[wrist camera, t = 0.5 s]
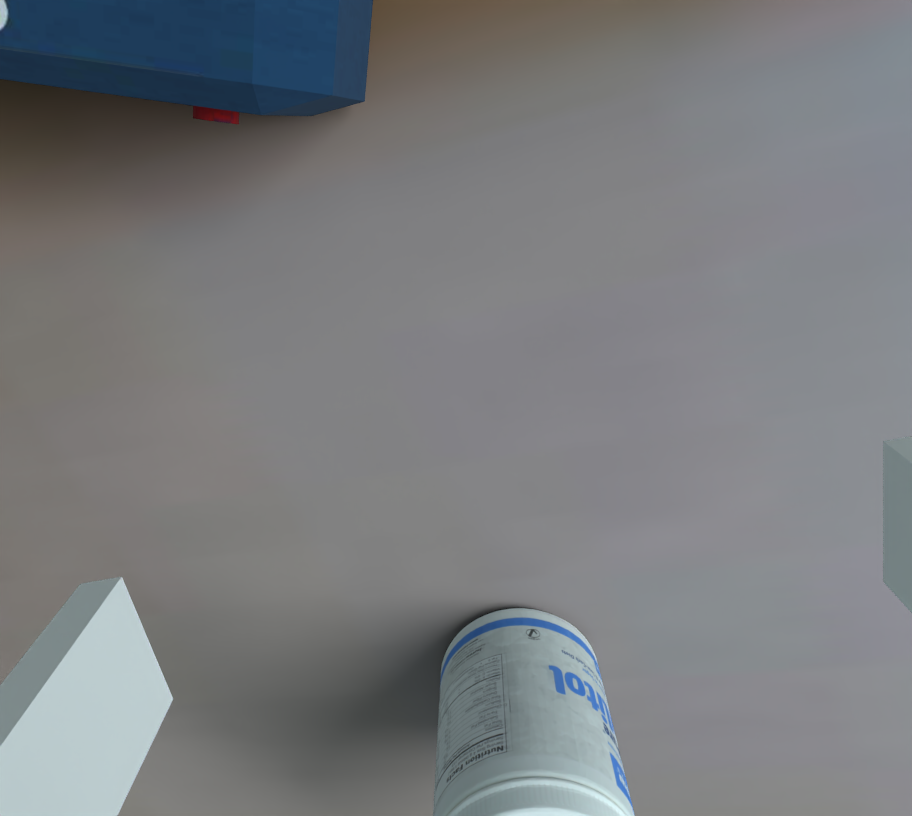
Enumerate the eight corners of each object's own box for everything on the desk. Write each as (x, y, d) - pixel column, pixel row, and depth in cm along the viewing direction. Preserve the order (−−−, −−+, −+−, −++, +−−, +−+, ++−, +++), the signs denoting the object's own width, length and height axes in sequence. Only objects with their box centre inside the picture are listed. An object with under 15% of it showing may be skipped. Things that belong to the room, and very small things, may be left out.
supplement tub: (627, 658, 47) (699, 883, 33) (524, 751, 49) (551, 996, 36) (507, 571, 45) (530, 773, 31) (406, 673, 47) (386, 902, 33)
